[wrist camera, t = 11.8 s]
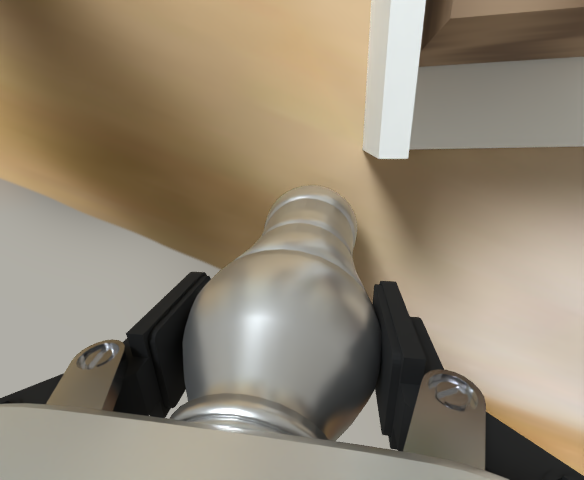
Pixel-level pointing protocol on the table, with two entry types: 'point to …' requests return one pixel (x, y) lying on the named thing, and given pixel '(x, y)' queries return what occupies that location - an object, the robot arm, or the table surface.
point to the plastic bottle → (285, 327)
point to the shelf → (462, 95)
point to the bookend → (500, 31)
